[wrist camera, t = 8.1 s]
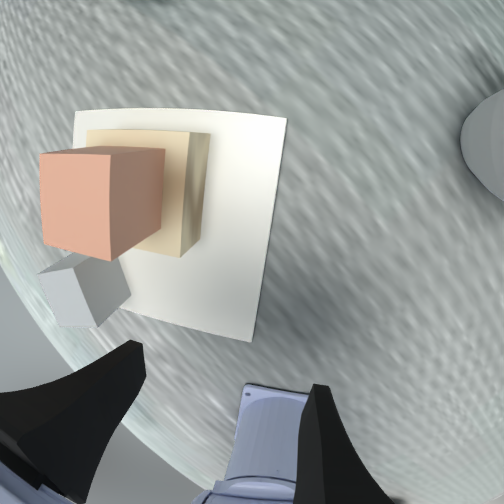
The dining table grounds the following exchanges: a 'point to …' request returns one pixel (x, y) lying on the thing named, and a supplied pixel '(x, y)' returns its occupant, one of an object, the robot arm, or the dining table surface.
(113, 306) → the grey block
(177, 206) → the maple block
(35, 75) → the dining table surface
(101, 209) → the terracotta block
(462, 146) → the cup
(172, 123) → the board
